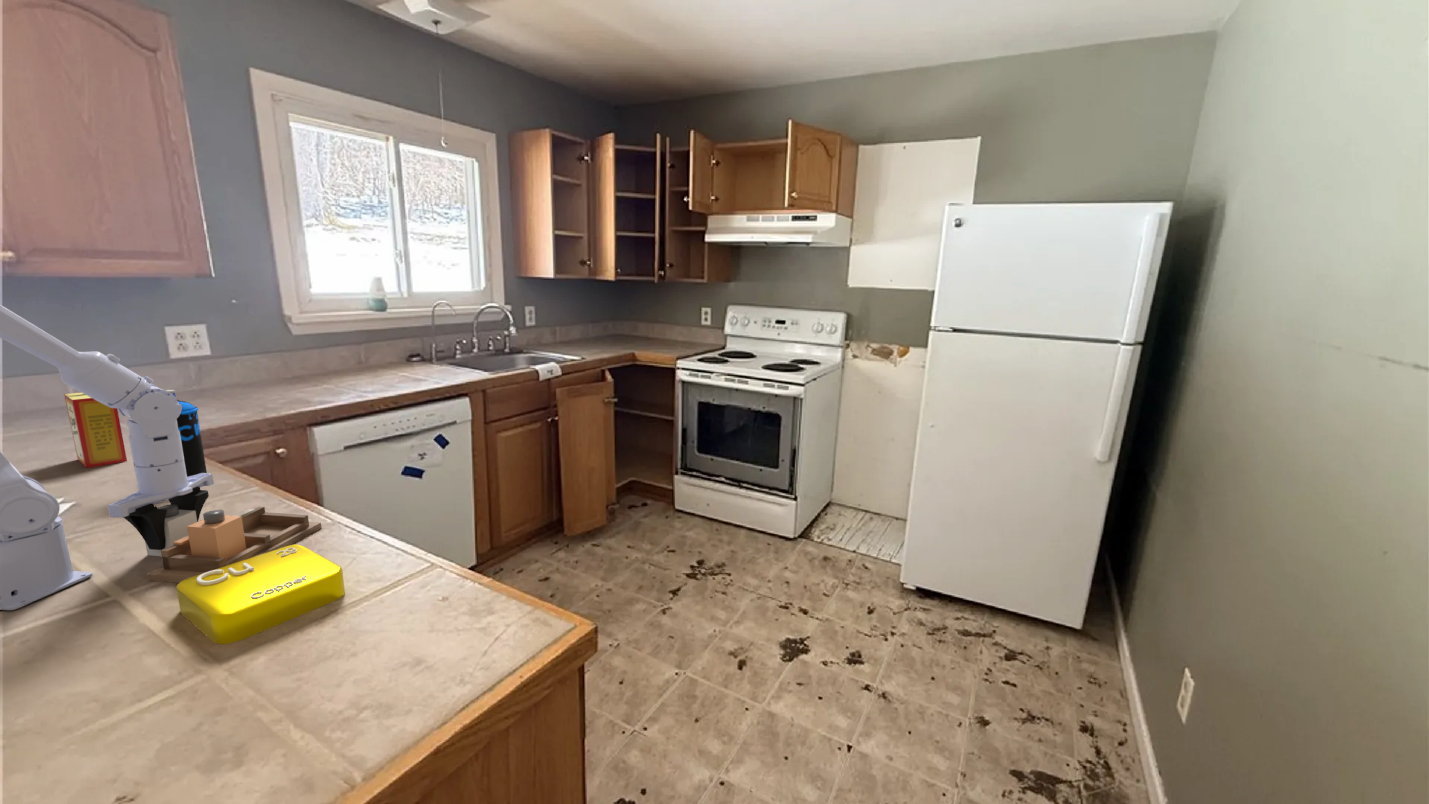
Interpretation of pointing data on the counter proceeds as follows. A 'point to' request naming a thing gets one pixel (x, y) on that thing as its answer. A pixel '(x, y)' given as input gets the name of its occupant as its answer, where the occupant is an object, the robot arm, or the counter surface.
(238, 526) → the orange plug
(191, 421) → the aerosol can
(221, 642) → the element tile
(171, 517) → the grey plug
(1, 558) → the robot arm
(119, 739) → the counter surface
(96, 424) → the baking soda box
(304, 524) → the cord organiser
